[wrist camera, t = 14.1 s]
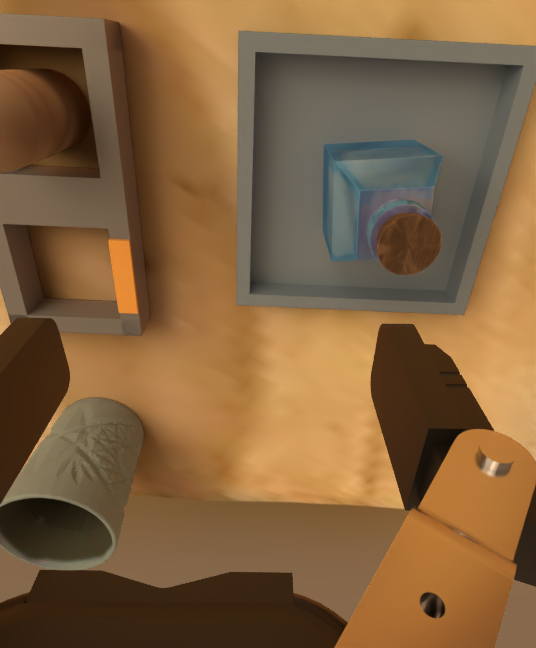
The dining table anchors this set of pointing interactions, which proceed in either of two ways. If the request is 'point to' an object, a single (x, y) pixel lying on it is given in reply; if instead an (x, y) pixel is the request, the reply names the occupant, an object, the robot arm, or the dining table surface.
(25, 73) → the walnut peg
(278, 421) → the dining table surface
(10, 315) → the slot holder
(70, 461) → the grey cup
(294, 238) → the tray
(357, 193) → the perfume bottle
